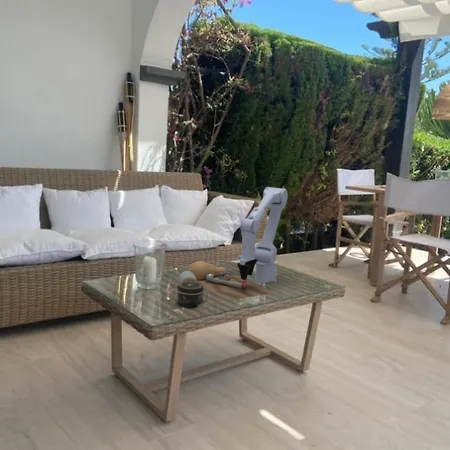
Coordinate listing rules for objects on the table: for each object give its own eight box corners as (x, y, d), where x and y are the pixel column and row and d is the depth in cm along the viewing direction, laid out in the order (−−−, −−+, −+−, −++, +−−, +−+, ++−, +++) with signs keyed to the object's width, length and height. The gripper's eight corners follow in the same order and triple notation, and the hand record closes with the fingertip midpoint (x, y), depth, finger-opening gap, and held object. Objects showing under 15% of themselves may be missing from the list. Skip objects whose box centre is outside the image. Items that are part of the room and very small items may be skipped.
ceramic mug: (180, 293, 203) (181, 276, 202) (177, 287, 211) (178, 270, 210) (205, 293, 206) (206, 275, 205) (201, 287, 214) (202, 270, 212)
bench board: (238, 277, 231) (238, 269, 231) (274, 295, 208) (275, 286, 207) (193, 283, 219) (193, 274, 218) (226, 302, 195) (227, 293, 195)
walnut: (228, 279, 223) (228, 272, 223) (231, 281, 221) (232, 274, 220) (222, 280, 222) (222, 273, 221) (225, 282, 219) (226, 275, 218)
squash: (182, 279, 224) (183, 260, 224) (215, 278, 238) (216, 260, 238) (197, 281, 216) (198, 261, 216) (230, 280, 230) (231, 261, 230)
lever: (204, 280, 218) (205, 274, 217) (210, 278, 222) (210, 271, 221) (245, 289, 208) (245, 282, 208) (250, 286, 213) (250, 279, 212)
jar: (172, 305, 189) (173, 286, 188) (183, 297, 199) (184, 279, 197) (196, 309, 186) (197, 290, 185) (206, 301, 195) (207, 283, 194)
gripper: (245, 242, 217) (243, 271, 220) (233, 248, 204) (232, 280, 206) (260, 244, 215) (258, 274, 217) (249, 251, 201) (248, 282, 204)
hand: (246, 277), depth 212 cm, fingers open, 7 cm apart
